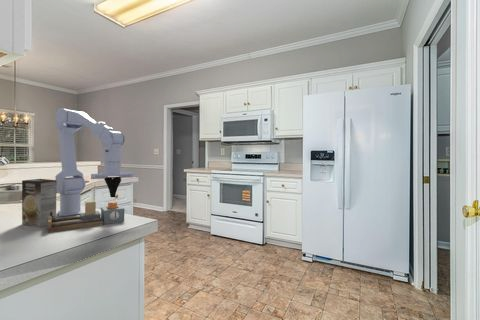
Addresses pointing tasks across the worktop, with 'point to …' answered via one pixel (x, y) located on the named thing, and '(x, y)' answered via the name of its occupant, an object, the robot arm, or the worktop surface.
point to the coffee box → (38, 201)
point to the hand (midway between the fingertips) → (112, 196)
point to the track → (71, 223)
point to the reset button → (112, 205)
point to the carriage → (90, 211)
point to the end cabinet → (112, 214)
